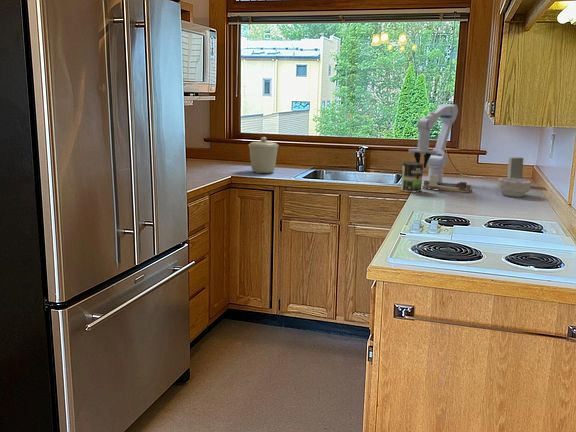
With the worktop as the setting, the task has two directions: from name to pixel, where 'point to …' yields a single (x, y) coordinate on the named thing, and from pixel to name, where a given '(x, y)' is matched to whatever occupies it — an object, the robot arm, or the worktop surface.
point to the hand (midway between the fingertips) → (421, 167)
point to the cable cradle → (461, 186)
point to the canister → (263, 155)
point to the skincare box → (515, 167)
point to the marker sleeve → (433, 180)
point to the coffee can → (411, 176)
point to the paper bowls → (514, 186)
